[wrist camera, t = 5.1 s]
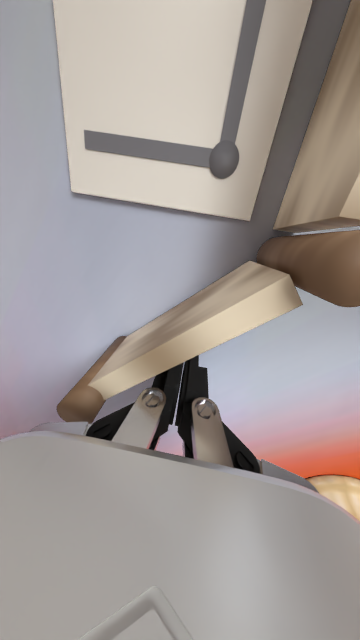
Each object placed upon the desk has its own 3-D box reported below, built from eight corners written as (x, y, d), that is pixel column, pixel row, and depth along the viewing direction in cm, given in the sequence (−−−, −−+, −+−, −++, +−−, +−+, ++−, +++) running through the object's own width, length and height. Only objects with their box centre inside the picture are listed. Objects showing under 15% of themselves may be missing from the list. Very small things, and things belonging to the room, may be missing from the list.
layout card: (31, -288, 5) (19, -329, 5) (388, -273, 5) (404, -316, 4) (74, 192, 10) (70, 190, 9) (248, 221, 9) (250, 220, 9)
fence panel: (247, 255, 10) (303, 271, 4) (260, 281, 10) (325, 324, 5) (110, 342, 14) (49, 408, 8) (124, 358, 14) (76, 430, 9)
